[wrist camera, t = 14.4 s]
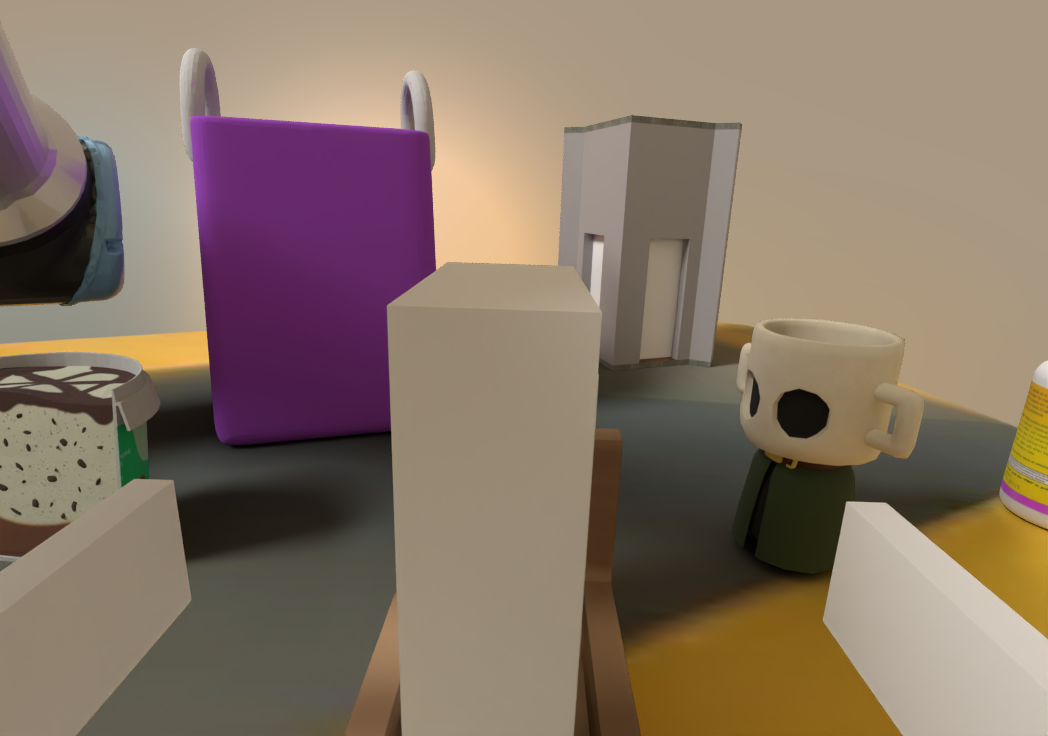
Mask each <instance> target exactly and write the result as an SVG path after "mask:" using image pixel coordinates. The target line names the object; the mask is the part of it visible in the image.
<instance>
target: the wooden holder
mask: <svg viewBox="0 0 1048 736" xmlns="http://www.w3.org/2000/svg"><path fill="white" fill-rule="evenodd" d="M622 443H623V440H622V437H621V434H620V432H619V429H604V428H595V439H594V454H593V468H592V482H591V497H590V511H589V525H588V540H587V554H586V568H585V583H584V597H583V611H582V626H581V640H580V655H579V669H578V683H577V698H576V712H575V726H574V736H641V734H640V729H639V724H638V719H637V714H636V709H635V703H634V698H633V693H632V688H631V683H630V678H629V673H628V668H627V662H626V657H625V652H624V647H623V642H622V637H621V632H620V627H619V621H618V616H617V611H616V606H615V601H614V596H613V591H612V586H611V574H612V562H613V550H614V538H615V526H616V515H617V503H618V491H619V479H620V467H621V455H622ZM344 736H402V727H401V698H400V669H399V640H398V612H397V589H396V592H395V595H394V598H393V600H392V603H391V606H390V609H389V611H388V614H387V617H386V620H385V623H384V625H383V628H382V631H381V634H380V636H379V639H378V642H377V645H376V647H375V650H374V653H373V656H372V659H371V661H370V664H369V667H368V670H367V672H366V675H365V678H364V681H363V683H362V686H361V689H360V692H359V695H358V697H357V700H356V703H355V706H354V708H353V711H352V714H351V717H350V719H349V722H348V725H347V728H346V731H345V733H344Z"/></svg>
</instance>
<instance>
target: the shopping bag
mask: <svg viewBox="0 0 1048 736" xmlns="http://www.w3.org/2000/svg"><path fill="white" fill-rule="evenodd" d="M401 91H402V92H401V129H393V128H379V127H363V126H349V125H335V124H321V123H307V122H292V121H277V120H262V119H249V118H233V117H221V116H220V106H219V95H218V88H217V83H216V77H215V72H214V68H213V65H212V62H211V60H210V58H209V56H208V55H207V54H206V53H205V52H204V51H202V50H200V49H196V48H192V49H189V50H188V51H186V52H185V54H184V56H183V58H182V63H181V68H180V107H181V122H182V135H183V142H184V146H185V150H186V152H187V154H188V156H189V158H190V159H191V160H192V161H193V166H194V179H195V191H196V203H197V216H198V227H199V239H200V253H201V264H202V277H203V289H204V301H205V313H206V326H207V339H208V351H209V363H210V375H211V388H212V400H213V412H214V422H215V428H216V433H217V435H218V438H219V439H220V441H221V442H222V443H224V444H227V445H249V444H262V443H272V442H283V441H293V440H303V439H314V438H324V437H335V436H345V435H356V434H366V433H377V432H387V431H391V410H390V382H389V353H388V324H387V305H388V304H390V303H391V302H392V301H394V300H395V299H397V298H398V297H399V296H401V295H402V294H404V293H405V292H407V291H408V290H409V289H411V288H412V287H414V286H415V285H416V284H418V283H419V282H421V281H422V280H423V279H425V278H426V277H428V276H429V275H430V274H432V273H433V272H435V271H436V260H435V240H434V219H433V197H432V178H431V177H432V176H431V171H432V169H433V166H434V162H435V136H434V121H433V110H432V102H431V96H430V91H429V87H428V84H427V81H426V79H425V77H424V76H423V75H422V74H421V73H420V72H418V71H410V72H408V73H407V74H406V76H405V78H404V80H403V84H402V90H401Z"/></svg>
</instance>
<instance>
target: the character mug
mask: <svg viewBox="0 0 1048 736" xmlns="http://www.w3.org/2000/svg"><path fill="white" fill-rule="evenodd" d="M904 345H905V339H903V338H901V337H899V336H897V335H895V334H893V333H890V332H886V331H883V330H879V329H875V328H872V327H867V326H861V325H855V324H850V323H843V322H834V321H826V320H814V319H770V320H764V321H760V322H759V323H757V324H756V325H755V327H754V331H753V334H752V341H751V343H746V344H745V345H744V346H743V348H742V350H741V353H740V360H739V367H738V375H737V382H736V383H737V390H739V391H740V392H741V393H742V394H743V397H742V401H741V405H740V423H741V425H742V427H743V429H744V432H745V434H746V437H747V438H748V440H749V441H750V442H751V443H752V444H753V445H755V446H756V447H758V448H759V449H758V451H757V452H756V453H755V455H754V458H753V461H752V464H751V467H750V470H749V473H748V476H747V480H746V483H745V486H744V489H743V492H742V495H741V498H740V501H739V505H738V509H737V513H736V517H735V521H734V525H733V529H732V533H733V535H734V537H735V539H736V540H737V542H738V544H739V545H740V546H742V547H743V545H744V542H745V538H746V534H747V530H749V531H750V532H751V533H752V534H753V535H754V536H755V537H756V538H757V540H758V542H757V548H756V553H755V556H756V557H757V558H758V559H759V560H762V561H764V562H767V563H769V564H772V565H774V566H777V567H780V568H782V569H785V570H791V571H798V572H804V573H811V574H815V573H819V572H823V571H827V570H830V569H833V566H834V561H835V556H836V551H837V546H838V541H839V536H840V531H841V527H842V522H843V517H844V512H845V507H846V502H854V497H855V475H854V472H853V469H852V466H851V465H857V464H864V463H866V462H869V461H872V460H875V459H876V458H877V457H878V455H879V454H880V452H881V451H882V452H885V453H887V454H889V455H892V456H894V457H897V458H908V456H909V455H910V454H911V452H912V451H913V449H914V447H915V444H916V439H917V435H918V431H919V427H920V423H921V418H922V414H923V410H924V402H923V398H922V397H921V396H920V395H918V394H917V393H915V392H914V391H912V390H909V389H905V388H902V387H899V386H897V383H898V378H899V374H900V369H901V365H902V360H903V355H904ZM892 406H896V407H897V409H898V412H897V417H896V421H895V425H894V430H893V435H891V434H888V433H887V428H888V424H889V419H890V415H891V410H892Z"/></svg>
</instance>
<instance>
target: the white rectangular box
mask: <svg viewBox="0 0 1048 736" xmlns="http://www.w3.org/2000/svg"><path fill="white" fill-rule="evenodd" d="M601 323H602V312H601V310H600V308H599V307H598V305H597V304H596V302H595V300H594V299H593V297H592V295H591V294H590V292H589V291H588V289H587V287H586V286H585V284H584V283H583V281H582V279H581V278H580V276H579V275H578V273H577V271H576V270H575V268H574V267H573V266H550V265H549V266H548V265H519V264H518V265H517V264H489V263H486V264H485V263H457V262H447V263H446V264H444V265H443V266H442V267H440V268H439V269H437V270H436V271H435V272H433V273H432V274H430V275H429V276H428V277H426V278H425V279H423V280H422V281H421V282H419V283H418V284H416V285H415V286H414V287H412V288H411V289H409V290H408V291H407V292H405V293H404V294H402V295H401V296H399V297H398V298H397V299H395V300H394V301H392V302H391V303H390V304H388V305H387V324H388V353H389V382H390V410H391V439H392V468H393V497H394V525H395V554H396V583H397V612H398V640H399V669H400V698H401V727H402V736H574V726H575V712H576V698H577V683H578V669H579V655H580V640H581V626H582V611H583V597H584V583H585V568H586V554H587V540H588V525H589V511H590V497H591V482H592V468H593V454H594V439H595V425H596V411H597V396H598V382H599V374H598V366H599V351H600V337H601Z"/></svg>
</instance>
